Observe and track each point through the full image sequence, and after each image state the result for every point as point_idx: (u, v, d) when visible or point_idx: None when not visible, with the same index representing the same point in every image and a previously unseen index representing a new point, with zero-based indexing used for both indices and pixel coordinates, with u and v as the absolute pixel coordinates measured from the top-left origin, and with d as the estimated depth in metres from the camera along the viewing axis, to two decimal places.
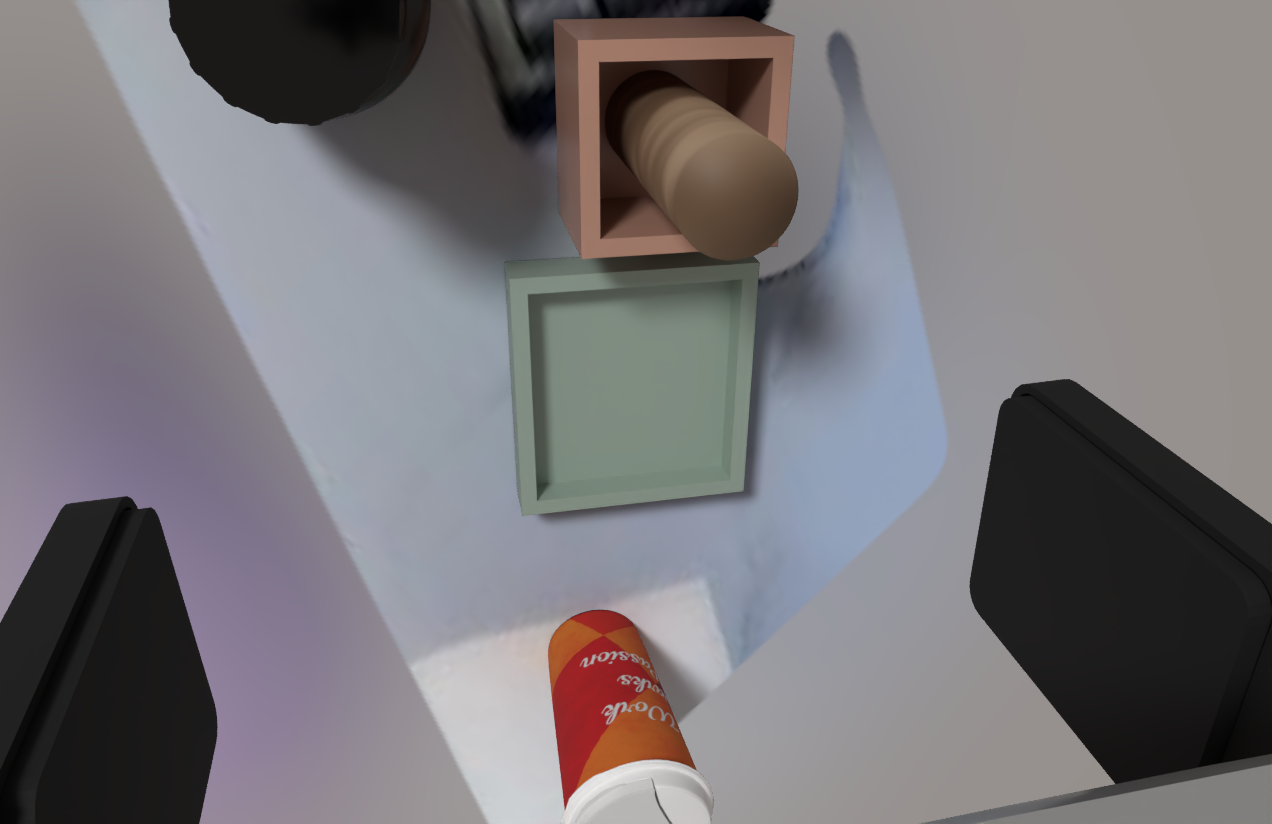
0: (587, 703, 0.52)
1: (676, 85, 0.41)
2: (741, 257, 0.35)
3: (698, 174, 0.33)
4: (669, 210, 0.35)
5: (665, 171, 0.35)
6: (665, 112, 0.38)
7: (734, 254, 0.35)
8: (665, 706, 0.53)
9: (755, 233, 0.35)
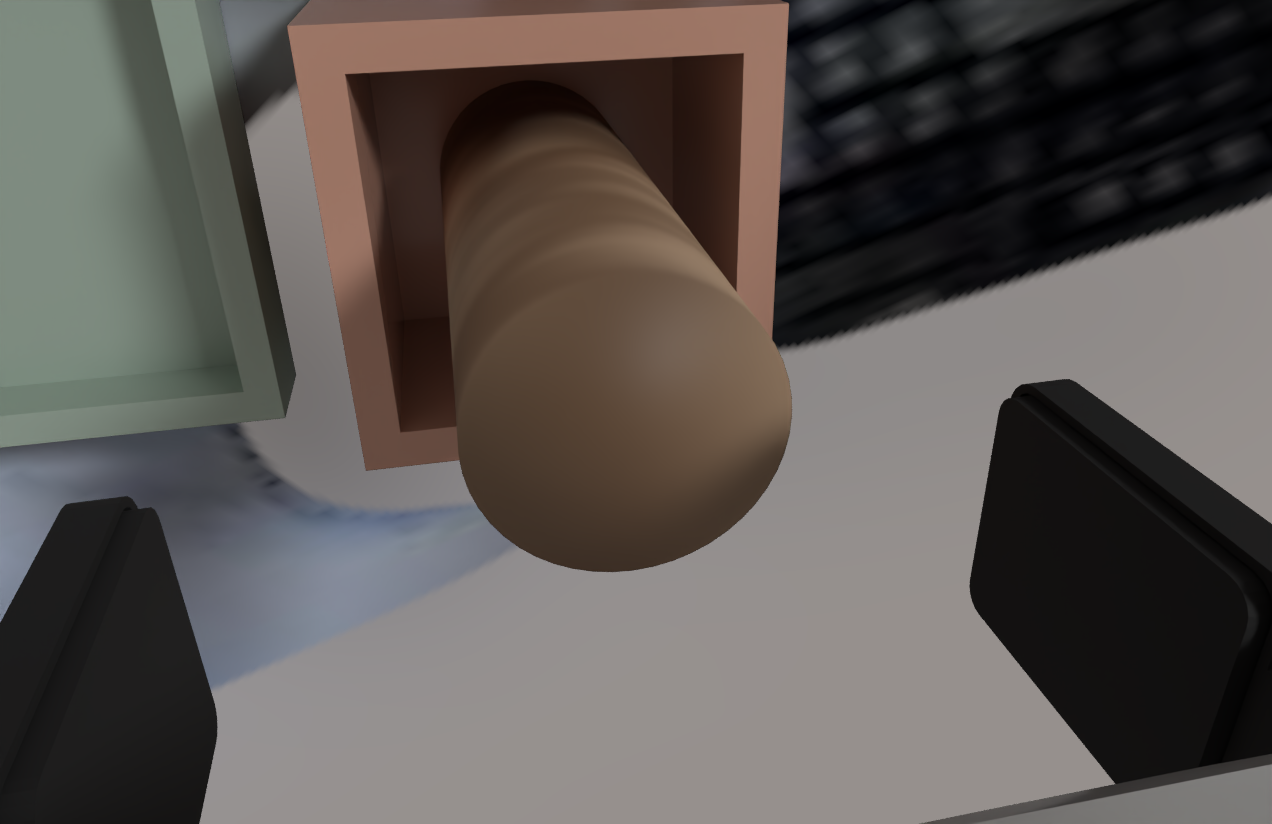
0: None
1: None
2: (467, 471, 0.13)
3: (700, 326, 0.12)
4: (564, 255, 0.13)
5: (647, 231, 0.13)
6: None
7: (476, 452, 0.13)
8: None
9: (536, 493, 0.13)
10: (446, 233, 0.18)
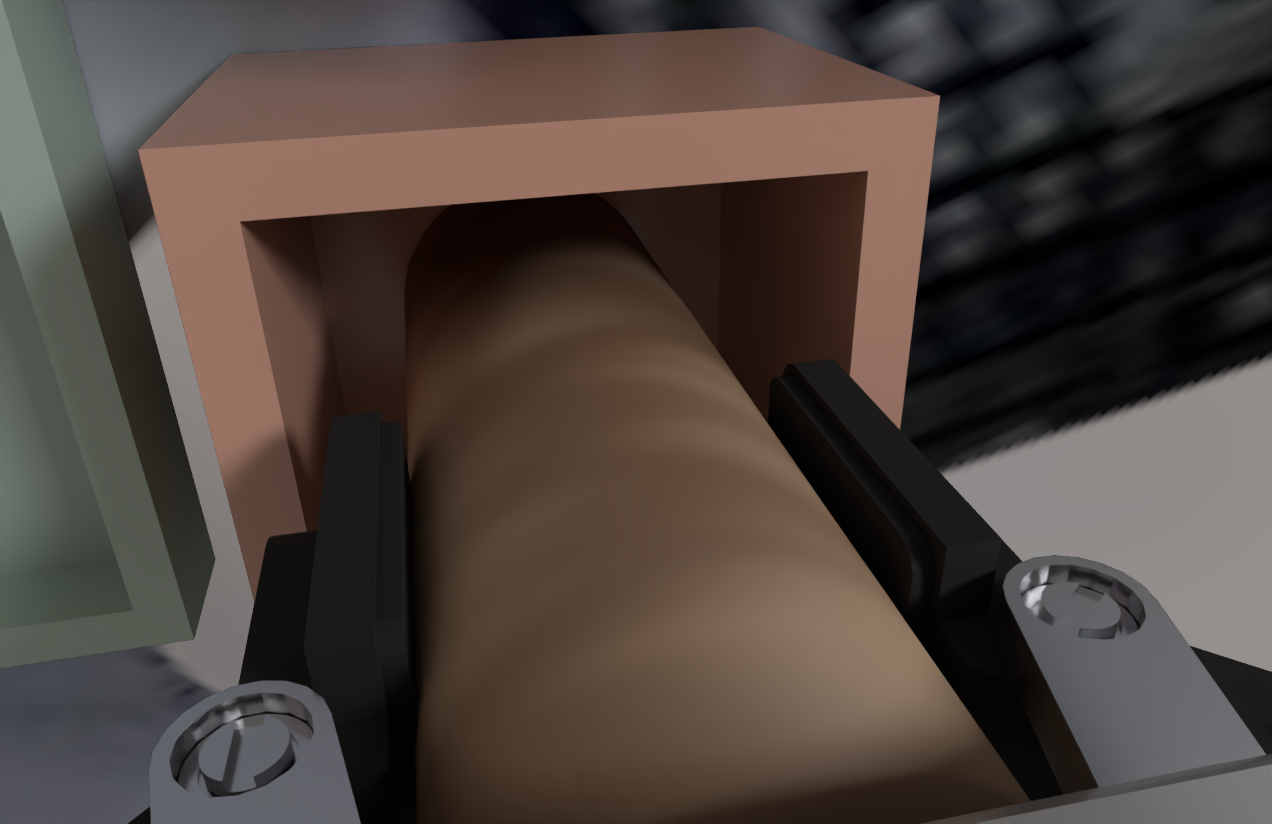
0: None
1: None
2: None
3: None
4: (637, 673, 0.06)
5: (781, 579, 0.07)
6: None
7: None
8: None
9: None
10: (409, 446, 0.12)
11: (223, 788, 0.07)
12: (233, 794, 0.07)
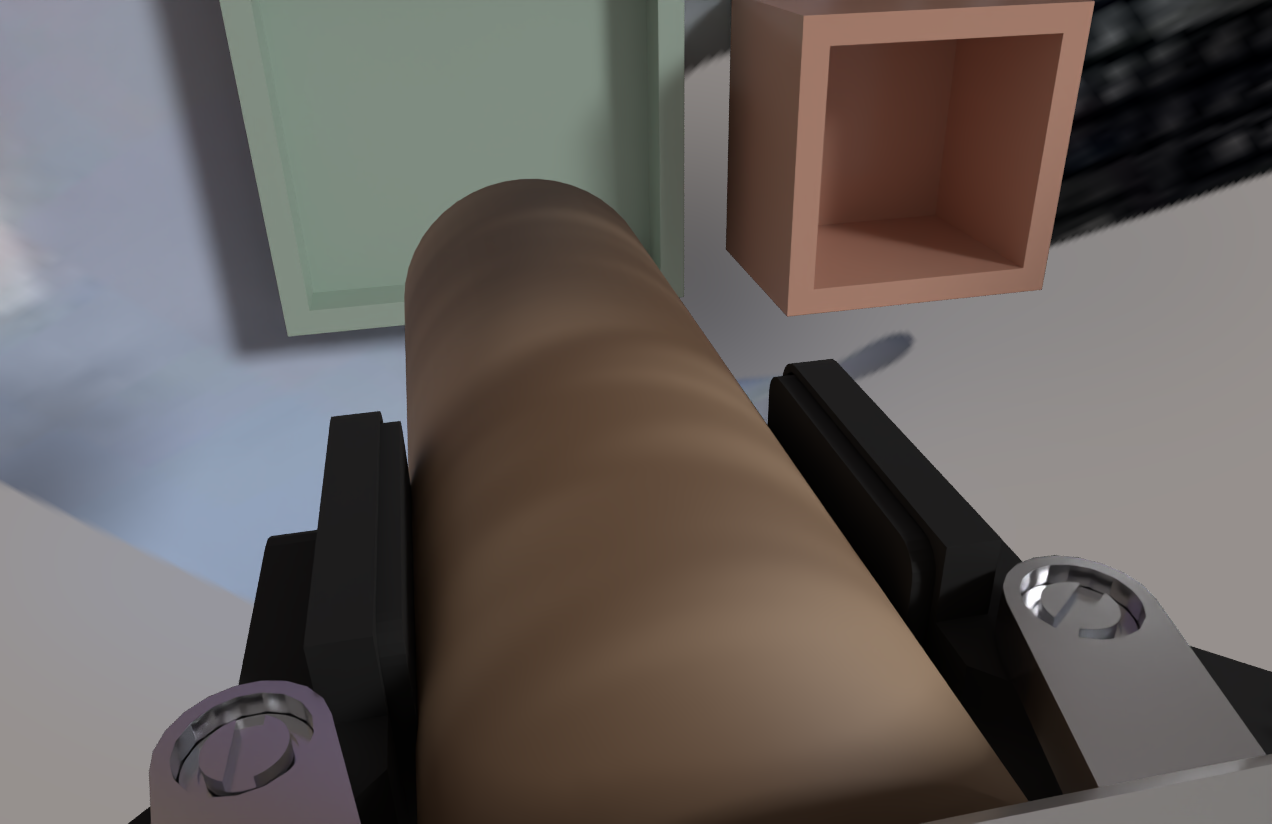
0: None
1: None
2: None
3: None
4: (638, 680, 0.06)
5: (782, 585, 0.07)
6: (764, 421, 0.11)
7: None
8: None
9: None
10: (410, 449, 0.12)
11: (223, 789, 0.07)
12: (233, 795, 0.07)
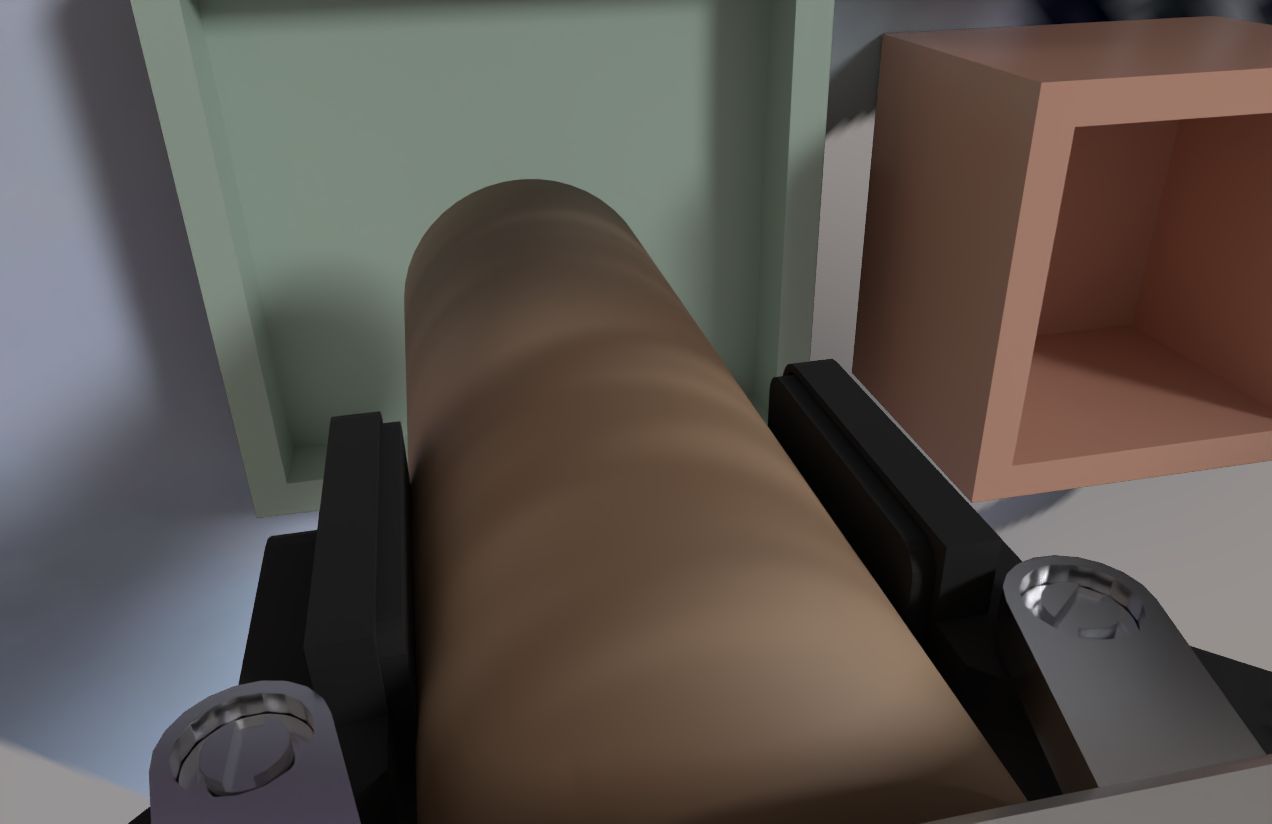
0: None
1: None
2: None
3: None
4: (638, 681, 0.06)
5: (781, 586, 0.07)
6: (764, 421, 0.11)
7: None
8: None
9: None
10: (409, 450, 0.12)
11: (223, 788, 0.07)
12: (233, 794, 0.07)
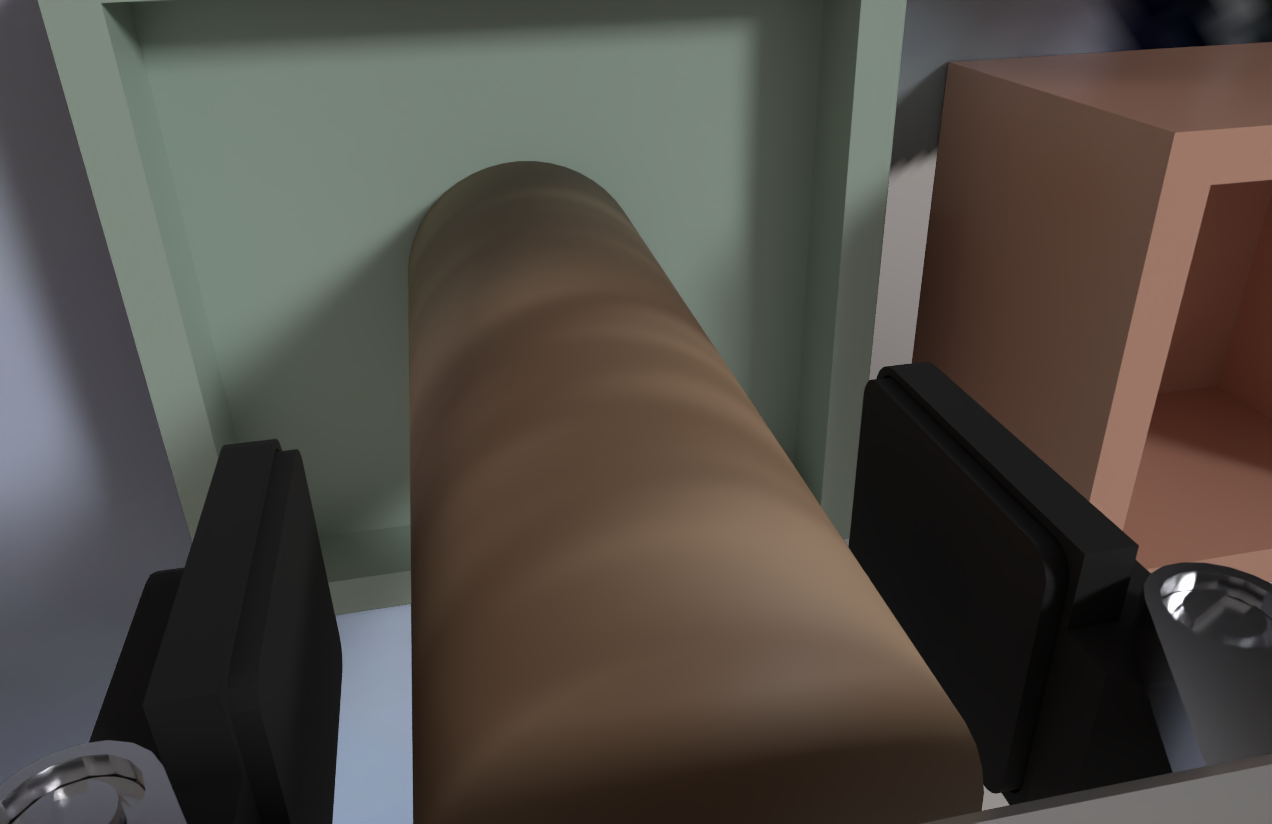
0: None
1: None
2: None
3: (843, 712, 0.07)
4: (599, 572, 0.07)
5: (730, 501, 0.08)
6: (734, 377, 0.12)
7: None
8: None
9: None
10: (410, 404, 0.13)
11: None
12: None
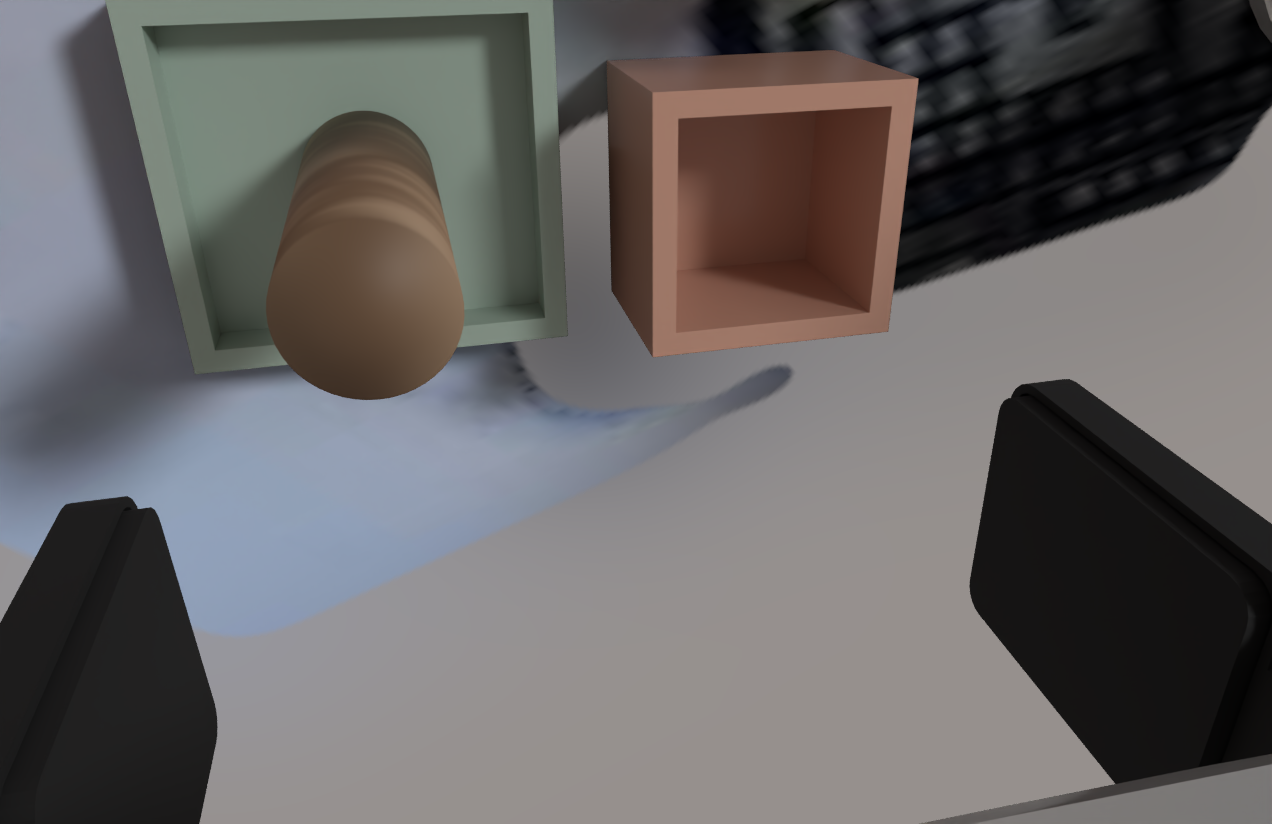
0: None
1: None
2: (273, 334, 0.22)
3: (401, 250, 0.22)
4: (328, 212, 0.23)
5: (382, 201, 0.23)
6: (430, 193, 0.27)
7: (277, 322, 0.22)
8: None
9: (315, 348, 0.23)
10: None
11: None
12: None
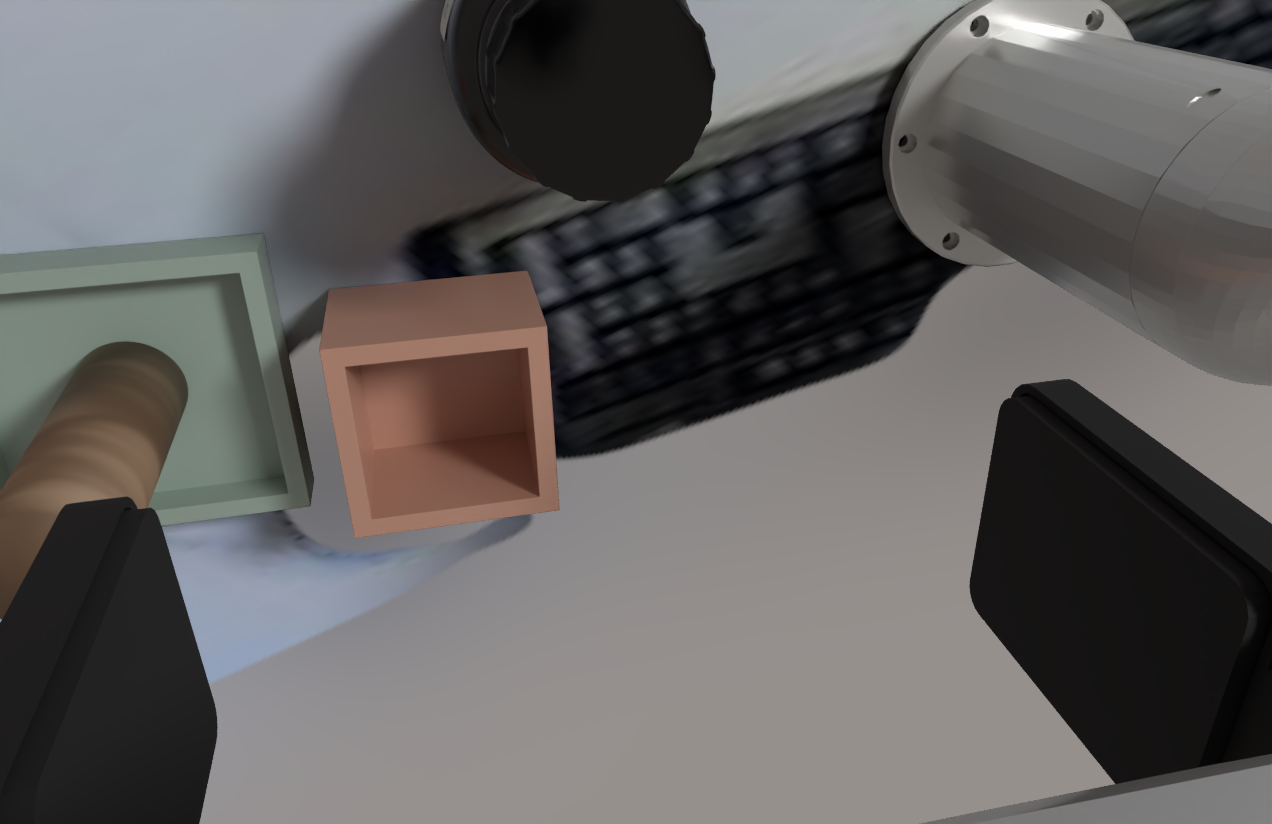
0: None
1: (170, 427, 0.39)
2: None
3: None
4: (9, 501, 0.31)
5: (57, 484, 0.32)
6: (133, 443, 0.36)
7: None
8: None
9: (5, 598, 0.31)
10: None
11: None
12: None
